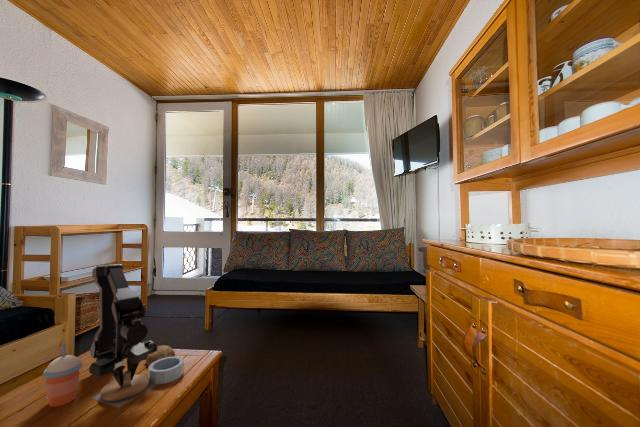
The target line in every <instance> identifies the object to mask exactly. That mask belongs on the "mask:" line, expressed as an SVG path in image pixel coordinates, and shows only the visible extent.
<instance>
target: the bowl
mask: <svg viewBox="0 0 640 427" xmlns="http://www.w3.org/2000/svg"><path fill="white" fill-rule="evenodd" d="M147 369H148V373H147V377H148V378H149V382H150V383H153V384H157V385H163V384H168V383H171V382H174V381H177V379H179V378H181V377H182V376H183V374H184V373H185V360H184V358H183V357H180V356H176V355H175V357H166V358H162V359H159V360H157V361H155V362H153V363H152V364H151V365H150V366H148V368H147Z"/></svg>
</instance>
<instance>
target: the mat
mask: <svg viewBox="0 0 640 427" xmlns="http://www.w3.org/2000/svg"><path fill="white" fill-rule="evenodd" d="M156 386H158V384H153V383H150V382H149V384H148V386H147V388H146V389H144V390H143V391H142V392H140V393H139V394H137V395H135V396H132V397H130V398H127V399H123V400H119V401H105V400H103V399H101V392H100V393H98V394H96V395H94V396H92V397H91V399H93V400H95V401H97V402H101V403H103V404H105V405H109V406H112V407H114V408H117V409H118V408H121V407H122V406H125V405H126V404H127V403H129V402H131V401H132V400H134V399H136V398H138V397H139V396H141V395H143V394H145V393H146V392H148V391H149V390H151V389H153V388H155V387H156Z"/></svg>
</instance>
